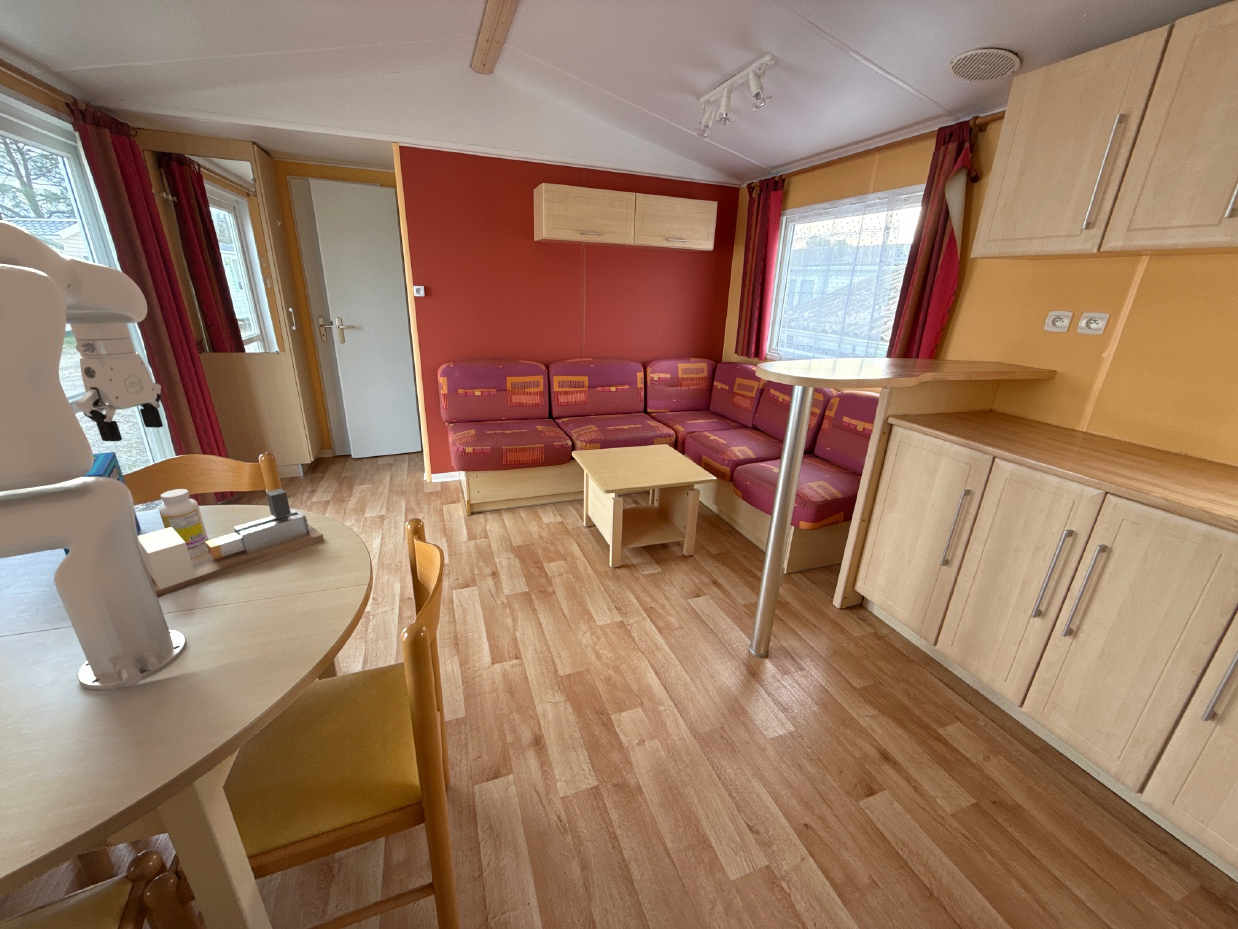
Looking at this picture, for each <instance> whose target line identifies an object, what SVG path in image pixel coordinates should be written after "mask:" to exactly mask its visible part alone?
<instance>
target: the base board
mask: <svg viewBox="0 0 1238 929" xmlns="http://www.w3.org/2000/svg"><path fill="white" fill-rule="evenodd" d="M307 524H308V529H309V533H310V535H307V536H304V537H301V538H298V539H295V540H292V541H289V542H286V543H283V544H280V545H277V546H274V547H271V548H268V549H265V550H262V551H259V552H256V553H253V554H250V555H247V554H246V553H245V552H244V551H239V552H236V553H233V554H230V555H227V556H224V557H221V558H218V559H215V560H214V559H213V558H212V557H211V556H210V554H209V552H208V551H207V552H204V553H201V554H198V555H194V556H191V557H190V559H191V562H192V565H193V569H194V572H195V575H196V578H193V579H190V580H187V581H184V582H181V583H178V584H175V585H172V586H169V587H166V588H163V589H160V588H159V587H158V585H157V584H156V582H155V581H154V579H153V578H152V576H151V575H150V577H151V580H152V583H153V586H154V588H155V591H156V594H157V597H158V598H160V597H164V596H167V595H169V594H173V593H174V592H179V591H180V590H184V589H186V588H190V587H193V586H196V585H198V584H201V583H203V582H207V581H211V580H213V579H216V578H218V577H222V576H225V575H227V574H230V573H233V572H236V571H240V570H241V569H245V568H248V567H251V566H252V565H256V564H260V563H262V562H264V561H268V560H271V559H274V558H277V557H280V556H282V555H285V554H288V553H290V552H293V551H296V550H299V549H302V548H305V547H309V546H311V545H313V544H317V543H320V542H322V540H323V541H325V540H324V534H323V533H322V532H320V531H318V530H317V529H316V528H315V527H313V526H312V525H311V524H309V523H307ZM149 574H150V573H149Z"/></svg>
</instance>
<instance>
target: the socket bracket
mask: <svg viewBox="0 0 1238 929" xmlns="http://www.w3.org/2000/svg"><path fill="white" fill-rule="evenodd" d="M138 539H139V543H140V547H141V550H142V553H143V556H144V559H145V562H146V565H147V568H148V571H149V573H150V575H151V576H152V578H153V579H154V581H155V582H156V584H157V585H158V587H159V588H160V589H163V588H166V587H169V586H172V585H175V584H178V583H181V582H184V581H187V580H190V579H193V578H196V575H195V572H194V569H193V565H192V562H191V559H190V558H191V557H190V553H189V548H188V549H187V546H186V543H185V541H184V540H183V539H182V538H181V537H180V536H179V535H178V533H177V532H176V531H175V530H174V529H173V528H172V527H169V528H165V527H164V528H162V529H156V530H155V531H151V532H148V533H143V534H139V536H138Z"/></svg>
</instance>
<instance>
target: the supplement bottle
mask: <svg viewBox="0 0 1238 929" xmlns="http://www.w3.org/2000/svg"><path fill="white" fill-rule="evenodd" d="M160 499H161V501H162V502H163V504H162V505H161V506H160V507H159V510H158V512H159V515H160V517H161V518H160V519H161V520H162V524H163V527H164V529H165V528H169V527H172V528H173V529H174V530H175V531H176V532H177V533H178V535H179V536H180V537H181V538H182V539H183V540H184V541H185V543H186V546H187V549H188V550H189V549H192V548H195V547H199V546H201V545H202V544H204V543H206V542H205V541H208V535H207V530H206V527H205V523H204V520H203V517H202V513H201V510H200V507H199V503H198V501H196V500H195V499H193V498H190V492H189V490H188V489H185V488H176V489H172V490H167V491H165V492H163V493H162V494H160Z"/></svg>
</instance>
